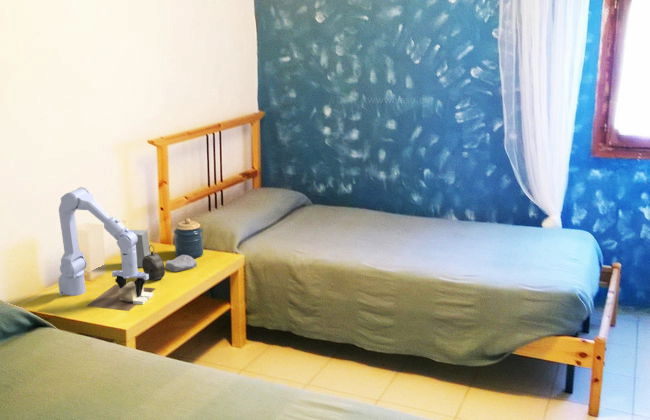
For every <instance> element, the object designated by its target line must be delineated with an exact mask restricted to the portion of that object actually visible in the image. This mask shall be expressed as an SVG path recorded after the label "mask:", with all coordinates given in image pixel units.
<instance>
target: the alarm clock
mask: <svg viewBox="0 0 650 420" xmlns="http://www.w3.org/2000/svg"><path fill="white" fill-rule="evenodd" d="M151 247H152V249H153V250H151V249H150V248H151ZM149 250H150V255H147V256H145V257H144V258H143V261H142V267H141V268H142V270H143V273H146V274H149V279H148V280H151V281H157V280H159V281H161V280H162V279H163V277H164V276H165V275H166V274H165V273H166V267H165V263H164V261H163V259H162V257H161V256H160V255H159V254H158V253H155V247H154V245H152V244H149Z"/></svg>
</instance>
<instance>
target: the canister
mask: <svg viewBox="0 0 650 420" xmlns="http://www.w3.org/2000/svg"><path fill="white" fill-rule="evenodd" d="M202 232H203V228H201V224H200V223H198V222H197V221H194V220H191V219H190V218H189V217H188V218H186V219H184V221H183V220H182V221H181V222H178V223H177V224H176V225H175V229H174V230H173V233H174V234H175V235H174V238H173V239H174V249H175V250H174V254H175V258H176V257H179V256H181V255H188V256H191V257H192V258H194V259H197V258H200V257H202V256H203V255H204V245H203V244H204V242H203V235H202Z"/></svg>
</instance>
